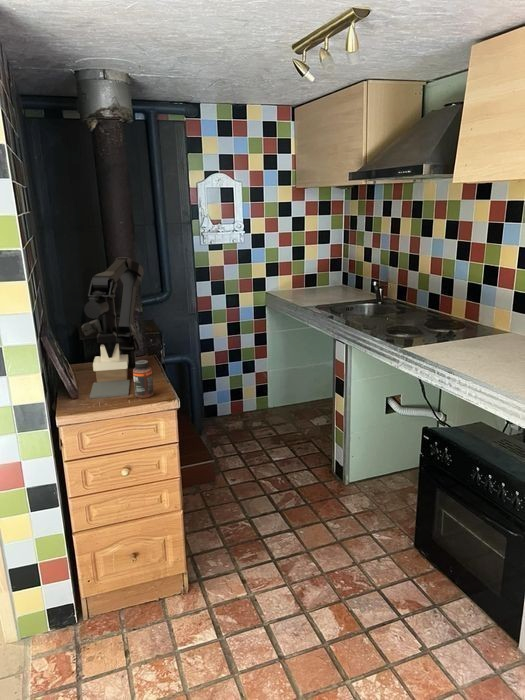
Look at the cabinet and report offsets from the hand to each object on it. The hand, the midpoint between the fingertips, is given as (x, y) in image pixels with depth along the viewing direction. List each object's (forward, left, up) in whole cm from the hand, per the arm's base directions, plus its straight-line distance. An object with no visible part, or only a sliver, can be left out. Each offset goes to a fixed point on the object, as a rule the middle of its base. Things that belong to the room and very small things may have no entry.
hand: (110, 356), depth 188 cm
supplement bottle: (+20, +11, -8) cm, 24 cm away
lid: (0, 0, -4) cm, 4 cm away
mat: (+12, 0, -8) cm, 14 cm away
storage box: (0, 0, -8) cm, 8 cm away
